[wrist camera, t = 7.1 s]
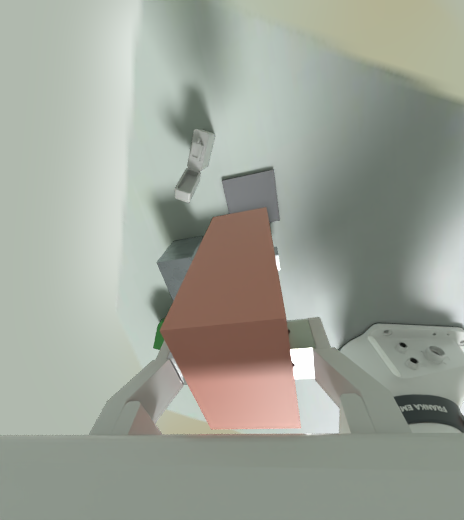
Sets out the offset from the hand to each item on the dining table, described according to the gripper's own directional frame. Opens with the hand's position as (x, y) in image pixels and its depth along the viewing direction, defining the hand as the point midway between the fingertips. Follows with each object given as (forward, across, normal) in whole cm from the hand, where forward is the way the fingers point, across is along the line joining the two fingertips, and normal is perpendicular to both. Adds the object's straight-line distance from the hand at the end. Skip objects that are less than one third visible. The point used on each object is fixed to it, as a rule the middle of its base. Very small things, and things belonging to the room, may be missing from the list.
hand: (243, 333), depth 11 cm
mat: (+24, 0, 0) cm, 24 cm away
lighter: (+25, -5, +6) cm, 26 cm away
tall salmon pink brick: (+8, 0, 0) cm, 9 cm away
